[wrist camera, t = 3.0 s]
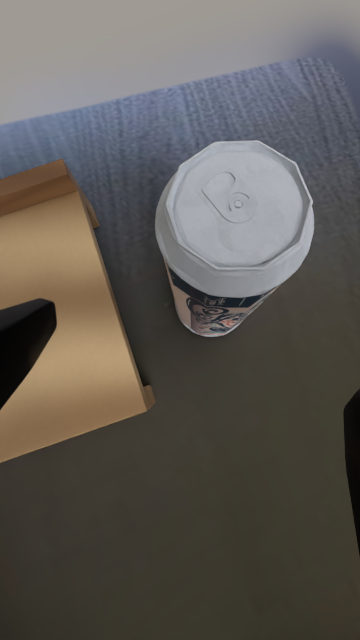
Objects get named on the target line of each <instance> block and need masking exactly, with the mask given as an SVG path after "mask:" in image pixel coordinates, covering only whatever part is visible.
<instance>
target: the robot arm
mask: <svg viewBox="0 0 360 640" xmlns="http://www.w3.org/2000/svg"><path fill="white" fill-rule="evenodd" d="M56 327H57V317H56V307H55V303H54V302H53V301H51V300H47V299H43V298H38V299H34V300H31V301H28V302H25V303H21V304H18V305H15V306H11V307H8V308H5V309H1V310H0V410H1V409H2V407H3V406H4V405H5V404H6V402H7V401H8V400H9V398H10V397H11V396H12V394H13V393H14V392H15V391H16V389H17V388H18V387H19V385H20V384H21V383H22V382H23V380H24V379H25V378H26V376H27V375H28V374H29V372H30V371H31V369H32V368H33V366H34V365H35V363H36V361H37V360H38V358H39V357H40V355H41V353H42V352H43V350H44V348H45V347H46V345H47V343H48V342H49V340H50V338H51V337H52V335H53V333H54V332H55V330H56ZM344 439H345V461H346V471H347V478H348V484H349V491H350V497H351V503H352V510H353V516H354V523H355V529H356V536H357V542H358V549H359V555H360V389H359V390H358V391H357V392H356V393H355V395H354V396H353V397H352V398H351V399H350V401H349V402H348V403H347V404H346V406H345V408H344Z"/></svg>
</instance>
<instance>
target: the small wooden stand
mask: <svg viewBox="0 0 360 640" xmlns="http://www.w3.org/2000/svg"><path fill="white" fill-rule="evenodd" d="M99 226H100V225H99V222H98V219H97V216H96V212H95V211H94V209H93V207H92V206H91V204H90V203H89V201H88V199H87V198H86V196H85V194H84V193H83V191H82V189H81V188H80V186H79V185H78V183H77V181H76V180H75V178H74V177H73V175H72V173H71V172H70V170H69V168H68V167H67V165H66V163H65V162H64V160H63V159H60V160H57V161H54V162H51V163H48V164H45V165H42V166H39V167H36V168H33V169H30V170H27V171H24V172H21V173H18V174H15V175H12V176H9V177H6V178H3V179H0V310H1V309H5V308H8V307H11V306H15V305H18V304H21V303H25V302H28V301H31V300H34V299H38V298H43V299H47V300H51V301H53V302H54V303H55V307H56V317H57V327H56V330H55V332H54V333H53V335H52V337H51V338H50V340H49V342H48V343H47V345H46V347H45V348H44V350H43V352H42V353H41V355H40V357H39V358H38V360H37V361H36V363H35V365H34V366H33V368H32V369H31V371H30V372H29V374H28V375H27V376H26V378H25V379H24V380H23V382H22V383H21V384H20V385H19V387H18V388H17V389H16V391H15V392H14V393H13V394H12V396H11V397H10V398H9V400H8V401H7V402H6V404H5V405H4V406H3V407H2V409H1V410H0V463H1V462H4V461H7V460H10V459H12V458H15V457H18V456H21V455H24V454H27V453H29V452H32V451H35V450H38V449H41V448H44V447H47V446H49V445H52V444H55V443H58V442H61V441H64V440H66V439H69V438H72V437H75V436H78V435H81V434H83V433H86V432H89V431H92V430H95V429H98V428H100V427H103V426H106V425H109V424H112V423H115V422H118V421H120V420H123V419H126V418H129V417H132V416H135V415H137V414H140V413H143V412H146V411H147V410H148V409H149V408H150V407H151V406H153V405H154V404H155V403H156V400H155V397H154V394H153V391H152V388H151V385H147V386H144V387H143V386H142V383H141V379H140V376H139V373H138V370H137V367H136V364H135V360H134V357H133V354H132V351H131V348H130V345H129V341H128V338H127V335H126V332H125V329H124V325H123V322H122V319H121V316H120V313H119V310H118V306H117V303H116V300H115V297H114V294H113V291H112V287H111V284H110V281H109V278H108V275H107V272H106V268H105V265H104V262H103V259H102V256H101V252H100V249H99V246H98V243H97V240H96V237H95V233H94V230H93V228H96V227H99Z"/></svg>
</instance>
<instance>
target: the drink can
mask: <svg viewBox="0 0 360 640" xmlns="http://www.w3.org/2000/svg"><path fill="white" fill-rule="evenodd" d="M312 203H313V201H312V198H311V196H310V194H309V191H308V189H307V187H306V185H305V182H304V180H303V178H302V175H301V173H300V171H299V169H298V166H297V164H296V163H295V162H294V161H292V160H290V159H289V158H287V157H285V156H284V155H282V154H280V153H279V152H277V151H275V150H274V149H272V148H270V147H269V146H267V145H265V144H264V143H262V142H260V141H223V142H214V143H212V144H211V145H209V146H208V147H206V148H205V149H203V150H202V151H200V152H199V153H197V154H196V155H194V156H193V157H191V158H190V159H188V160H187V161H185V162H184V163H183V164H181V165H180V166H179V168H178V171H177V172H176V173H175V174H174V175H173V177H172V178H171V179H170V181H169V182H168V184H167V185H166V187H165V188H164V190H163V193H162V195H161V198H160V200H159V203H158V206H157V209H156V218H155V230H156V238H157V241H158V244H159V247H160V250H161V253H162V255H163V257H164V261H165V265H166V269H167V273H168V277H169V281H170V285H171V289H172V293H173V297H174V301H175V308H176V312H177V314H178V317H179V319H180V320H181V322H182V323H183V324H184V325H185V326H186V327H187V328H188V329H190V330H191V331H192V332H194V333H196V334H199V335H202V336H209V337H216V336H221V335H225V334H227V333H229V332H230V331H232V330H234V329H235V328H236V327H237V326H238V325H239V324H240V323H241V322H242V321H243V320H244V319H245V318H246V317H247V316H248V315H249V314H250V313H251V312H253V311H254V310H255V309H256V308H257V307H258V306H259V305H260V304H261V303H262V302H263V301H264V300H265V299H266V298H267V297H268V296H269V295H270V294H271V293H272V292H273V291H274V290H276V289H277V288H278V287H279V286H280V285H281V284H282V283H283V282H284V281H285V280H287V279H288V278H289V277H290V276H291V275H292V274H293V273H295V272H296V271H297V269H298V268H299V267H300V265H301V263H302V262H303V260H304V258H305V257H306V255H307V253H308V251H309V248H310V244H311V240H312V236H313V232H314V215H313V210H312Z"/></svg>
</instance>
